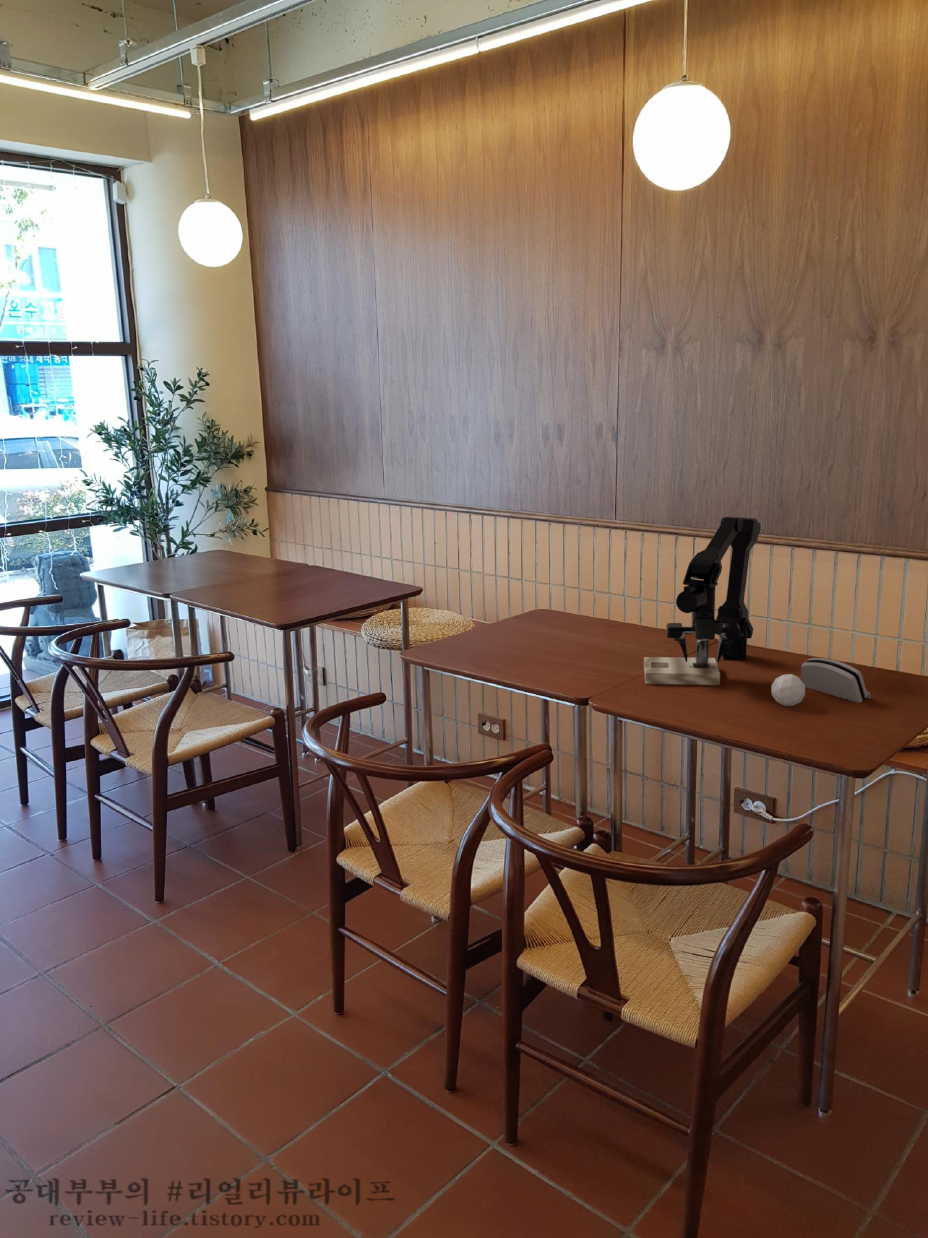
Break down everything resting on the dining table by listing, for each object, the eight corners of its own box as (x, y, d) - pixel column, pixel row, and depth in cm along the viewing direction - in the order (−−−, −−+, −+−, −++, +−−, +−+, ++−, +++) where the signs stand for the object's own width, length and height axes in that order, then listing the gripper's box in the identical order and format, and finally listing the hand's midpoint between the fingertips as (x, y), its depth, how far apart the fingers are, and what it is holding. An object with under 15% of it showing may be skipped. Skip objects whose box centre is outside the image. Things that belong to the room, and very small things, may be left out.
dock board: (714, 668, 256) (714, 657, 255) (719, 684, 243) (720, 674, 242) (643, 667, 259) (643, 657, 259) (645, 683, 246) (645, 673, 245)
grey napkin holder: (872, 698, 229) (866, 664, 225) (860, 708, 227) (855, 674, 223) (813, 681, 243) (806, 649, 238) (801, 691, 241) (795, 659, 236)
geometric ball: (786, 718, 226) (776, 698, 221) (771, 697, 232) (761, 677, 228) (815, 703, 225) (805, 682, 220) (798, 682, 231) (789, 662, 227)
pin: (707, 674, 252) (708, 638, 249) (708, 678, 248) (709, 642, 246) (694, 674, 252) (695, 638, 249) (695, 678, 249) (696, 642, 246)
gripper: (668, 612, 239) (667, 670, 243) (744, 612, 236) (742, 671, 240) (666, 602, 250) (665, 657, 254) (738, 602, 247) (736, 658, 251)
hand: (702, 661), depth 249 cm, fingers open, 8 cm apart
